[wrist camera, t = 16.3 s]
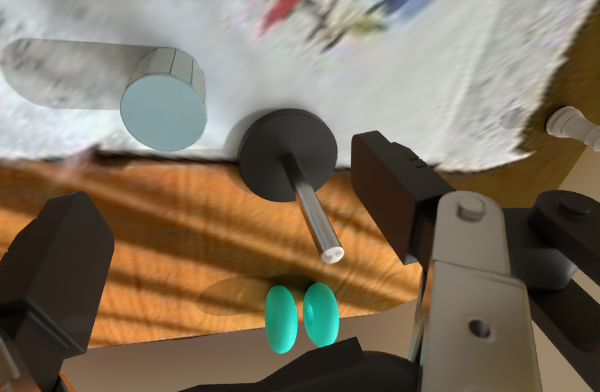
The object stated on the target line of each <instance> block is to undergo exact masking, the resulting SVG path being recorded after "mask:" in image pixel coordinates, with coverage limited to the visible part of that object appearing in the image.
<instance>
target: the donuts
mask: <svg viewBox="0 0 600 392" xmlns="http://www.w3.org/2000/svg"><path fill="white" fill-rule="evenodd" d="M303 319H304V325H305V328H306V332H307V334H308V336H309V337H310V339H311V341H312V342H313V343H314V344H315V345H317V346H319V347H324V346H327V345H330V344H333V342H334V341H335V339H336V337H337V334H338V329H339V313H338V307H337V302H336V299H335V297H334V294H333V292H332V291H331V289H330V288H329V287H328V286H327V285H325V284H323V283H315V284H313V285H311V286H310V287H309V288H308V290H307V292H306V294H305V297H304V301H303ZM297 325H298V324H297V310H296V305H295V302H294V299H293V296H292V295H291V293H290V291H289V290H288V289H287V288H285V287H284V286H281V285H276V286H273V287H272V288H271V289H270V290H269V292H268V294H267V297H266V303H265V326H266V333H267V338H268V341H269V344H270V346H271V348H272V349H273V350H274V351H275V352H277V353H285V352H287V351H288V350H289V349H290V348H291V347H292V345H293V344H294V341H295V338H296V334H297Z"/></svg>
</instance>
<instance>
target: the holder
mask: <svg viewBox="0 0 600 392" xmlns="http://www.w3.org/2000/svg"><path fill="white" fill-rule="evenodd" d="M337 153H338V152H337V144H336V140H335V138H334V135H333V134H332V132H331V130H330V129H329V128H328V127H327V125H326V124H325V123H324V122H323V121H322V120H321V119H320V118H319V117H317V116H316V115H314V114H312V113H310V112H307V111H304V110H299V109H282V110H278V111H274V112H272V113H269V114H267V115H265V116H263V117H262V118H260V119H259V120H257V121H256V122H255V123H254V124H253V125H252V126H251V127H250V128H249V129H248V130H247V132H246V133H245V135H244V137H243V139H242V141H241V143H240V147H239V152H238V163H239V169H240V173H241V176H242V179H243V181H244V182H245V184H246V185H247V187H248V188H249V189H250V190H251V191H252V192H253V193H255V194H256V195H258V196H259V197H261V198H264V199H266V200H269V201H274V202H291V201H296V200H297V202H298V204H299V207H300V209H301V212H302V214H303V217H304V219H305V222H306V224H307V226H308V229H309V231H310V234H311V236H312V239H313V241H314V243H315V246H316V248H317V251H318V253H319V256H320V258H321V260H322V262H324V263H326V264H332V263H336V262H337V261H339V260H340V259H341V258H342V257H343V255H344V249H343V247H342V245H341V243H340V241H339V240H338V238H337V236H336V234H335V232H334V230H333V228H332V226H331V224H330V222H329V220H328V218H327V216H326V214H325V212H324V210H323V208H322V206H321V204H320V202H319V200H318V198H317V196H316V194H315V192H316V191H317V190H318V189H320V188H321V187H322V186H323V185H324V184H325V183H326V181H327V180H328V179H329V177H330V176H331V174H332V172H333V170H334V168H335V165H336V161H337Z"/></svg>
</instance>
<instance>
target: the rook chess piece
mask: <svg viewBox="0 0 600 392" xmlns="http://www.w3.org/2000/svg"><path fill="white" fill-rule="evenodd" d="M546 130H547V132H548V133H549V134H550V135H554V136H555V137H571V138H575V139H578V140H581V141H583V142H584V143H585V144H586V145H592V146H593V149H594V150H595V151H600V126H597V125H595V124H593V123H591V122H589V121H588V120H586V119H585V117H584V116H583V115H582V113H581V112H580V111H579V110H578V109H574V108H573V107H571V106H567V107H563V108H560V109H558V110H557V111H555V112H554V113H553V114H552V115H551V116H550V118H549V119H548V121H547V124H546Z"/></svg>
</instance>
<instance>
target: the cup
mask: <svg viewBox="0 0 600 392" xmlns="http://www.w3.org/2000/svg"><path fill="white" fill-rule="evenodd" d="M120 113H121V117H122V120H123V123H124V125H125V127H126V128H127V130H128V131H129V133H130V134H131V135H132V136H133V137H134V138H135V139H136V140H138V141H139V142H140V143H142V144H144V145H145V146H148V147H150V148H152V149H156V150H160V151H178V150H182V149H185V148H187V147H189V146H191V145H193V144H194V143H195V142H196V141H197V140H198V139H199V138H200V137H201V135H202V134H203V132H204V129H205V126H206V123H207V105H206V87H205V78H204V73H203V71H202V69H201V68H200V66H199V65H198V64H197V62H196V61H195V59H194V58H193V57H191V56H190V55H188V54H186V53H184V52H182V51H181V50H179V49H176V48H158V49H155V50H154V51H152V52H151V53H149V54H148V55H146V56H145V57H144V58H143V59H142V61H141V62H140V64H139V66H138V67H137V69H136V71H135V72H134V74H133V76H132V77H131V79H130V81H129V82H128V84H127V86H126V89H125V92H124V94H123V96H122V99H121V103H120Z"/></svg>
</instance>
